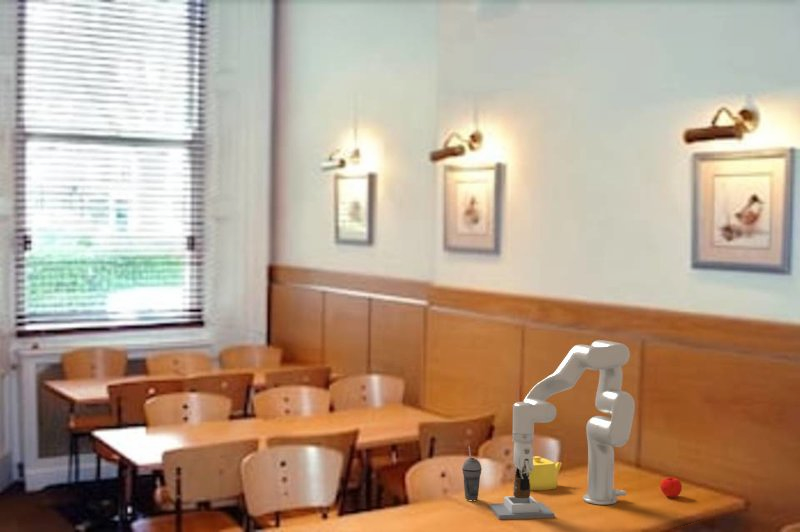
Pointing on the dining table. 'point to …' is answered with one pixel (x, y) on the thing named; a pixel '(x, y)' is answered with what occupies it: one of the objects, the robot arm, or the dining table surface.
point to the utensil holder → (517, 491)
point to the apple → (671, 487)
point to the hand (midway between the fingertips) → (521, 486)
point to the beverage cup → (471, 477)
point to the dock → (521, 509)
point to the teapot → (543, 474)
